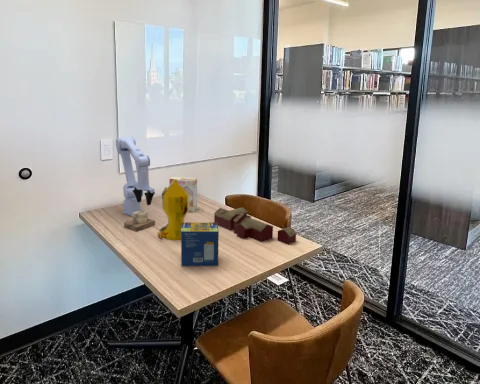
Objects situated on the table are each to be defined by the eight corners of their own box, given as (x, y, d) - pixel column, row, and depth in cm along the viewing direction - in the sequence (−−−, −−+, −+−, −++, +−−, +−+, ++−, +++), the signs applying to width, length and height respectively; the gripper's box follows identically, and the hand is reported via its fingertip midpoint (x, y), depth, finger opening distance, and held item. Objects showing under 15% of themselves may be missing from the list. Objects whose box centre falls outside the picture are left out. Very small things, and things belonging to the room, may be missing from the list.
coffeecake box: (169, 210, 219) (168, 178, 214) (174, 206, 226) (173, 175, 221) (193, 212, 216) (193, 180, 211) (197, 209, 223) (197, 177, 218)
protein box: (182, 255, 160) (182, 222, 156) (217, 255, 161) (218, 222, 157) (180, 266, 150) (180, 231, 146) (218, 266, 151) (219, 231, 147)
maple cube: (133, 222, 191) (132, 212, 190) (140, 219, 195) (139, 210, 194) (140, 224, 189) (139, 214, 187) (147, 221, 193) (146, 212, 191)
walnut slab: (124, 228, 190) (123, 222, 189) (141, 222, 200) (141, 216, 199) (137, 232, 185) (137, 227, 184) (154, 226, 195) (154, 220, 194)
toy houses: (210, 225, 197) (210, 207, 194) (237, 217, 211) (238, 200, 208) (273, 252, 166) (274, 231, 163) (301, 241, 180) (302, 221, 177)
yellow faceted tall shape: (169, 246, 169) (168, 187, 161) (149, 229, 188) (147, 176, 180) (202, 238, 178) (202, 183, 171) (180, 223, 198) (179, 173, 190)
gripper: (127, 177, 194) (129, 202, 197) (146, 182, 186) (147, 207, 189) (138, 175, 199) (139, 199, 203) (157, 179, 191) (157, 204, 195)
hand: (144, 203), depth 197 cm, fingers open, 7 cm apart
